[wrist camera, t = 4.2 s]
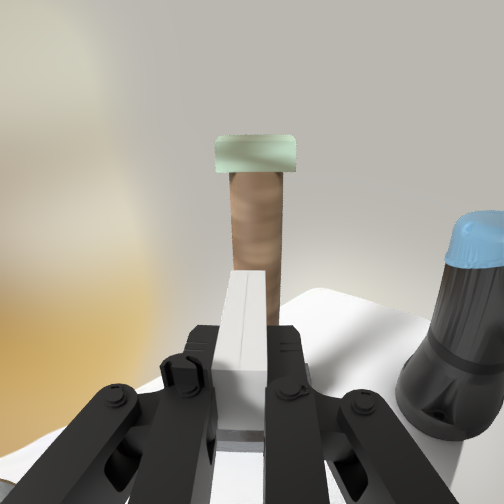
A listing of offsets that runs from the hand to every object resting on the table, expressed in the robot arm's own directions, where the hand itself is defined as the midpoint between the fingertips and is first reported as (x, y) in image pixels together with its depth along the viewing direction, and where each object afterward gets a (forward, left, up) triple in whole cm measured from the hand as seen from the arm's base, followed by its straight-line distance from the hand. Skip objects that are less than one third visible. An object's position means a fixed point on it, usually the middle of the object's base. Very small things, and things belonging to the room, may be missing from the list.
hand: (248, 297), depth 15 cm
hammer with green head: (0, -12, -19) cm, 22 cm away
